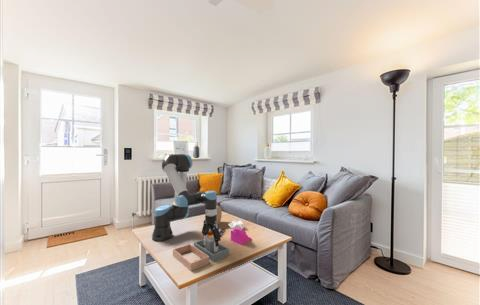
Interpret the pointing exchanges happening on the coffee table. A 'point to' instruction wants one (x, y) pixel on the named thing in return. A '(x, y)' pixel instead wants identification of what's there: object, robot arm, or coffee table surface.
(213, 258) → the trough
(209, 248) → the stone block
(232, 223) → the lotus flower
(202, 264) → the trough
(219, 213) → the beige tall rounded piece
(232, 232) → the bracket
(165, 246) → the coffee table surface
